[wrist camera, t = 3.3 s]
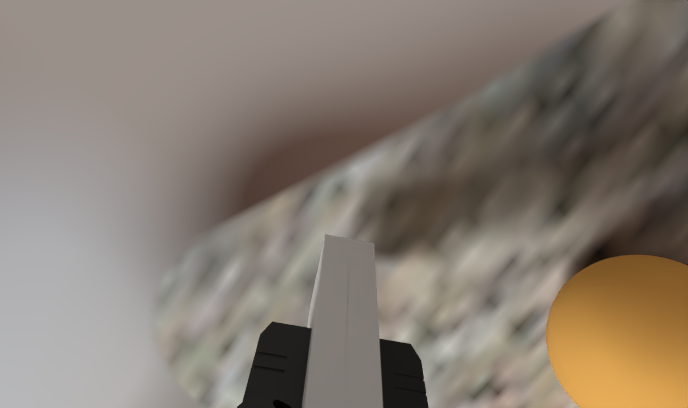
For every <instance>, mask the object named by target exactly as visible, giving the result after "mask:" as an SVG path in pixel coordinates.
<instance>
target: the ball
mask: <svg viewBox="0 0 688 408" xmlns="http://www.w3.org/2000/svg"><path fill="white" fill-rule="evenodd" d="M546 343H547V350H548V355H549V359H550V362H551V365H552V368H553V370H554V373H555V374H556V376H557V378H558V380H559V382H560V384H561V385H562V387H563V388H564V390H565V391H566V392H567V394H568V395H569V396H570V397H571V399H572V400H573V401H574V402H575V403H576V404H577V405H578V406H579V407H580V408H688V265H685V264H683V263H680V262H677V261H674V260H671V259H667V258H663V257H658V256H651V255H623V256H616V257H611V258H608V259H604V260H601V261H599V262H596V263H594V264H592V265H590V266H588V267H586V268H584V269H583V270H581V271H580V272H578V273H577V274H576V275H574V276H573V277H572V278H571V279H570V280H569V281H568V282H567V283H566V284H565V285H564V286H563V287H562V289H561V290H560V291H559V293H558V295H557V296H556V298H555V300H554V302H553V304H552V306H551V309H550V312H549V316H548V321H547V327H546Z"/></svg>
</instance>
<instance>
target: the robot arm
mask: <svg viewBox="0 0 688 408" xmlns="http://www.w3.org/2000/svg"><path fill="white" fill-rule="evenodd" d="M423 379H424V376H423V370H422V363H421V360H420V358H419V356H418V355H417V353H416V352H415V350H414V349H413V347H412V345H411V344H407V343H401V342H396V341H390V340H384V339H379V324H378V306H377V288H376V270H375V252H374V243H369V242H364V241H359V240H353V239H348V238H342V237H337V236H331V235H326V234H325V238H324V242H323V247H322V252H321V257H320V262H319V266H318V271H317V276H316V281H315V286H314V290H313V295H312V300H311V305H310V312H309V319H308V326H307V328H306V327H300V326H295V325H289V324H283V323H277V322H272V323H271V324H270V325H269V326H268V327H267V328H266V329H265V330H264V331H263V332H262V333H261V334H260V337H259V341H258V345H257V349H256V353H255V356H254V360H253V364H252V368H251V372H250V375H249V379H248V383H247V387H246V391H245V394H244V398H243V402H242V403H241V404H240V405H239V406H238V407H237V408H428V402H427V396H426V389H425V383H424V381H423Z"/></svg>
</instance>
